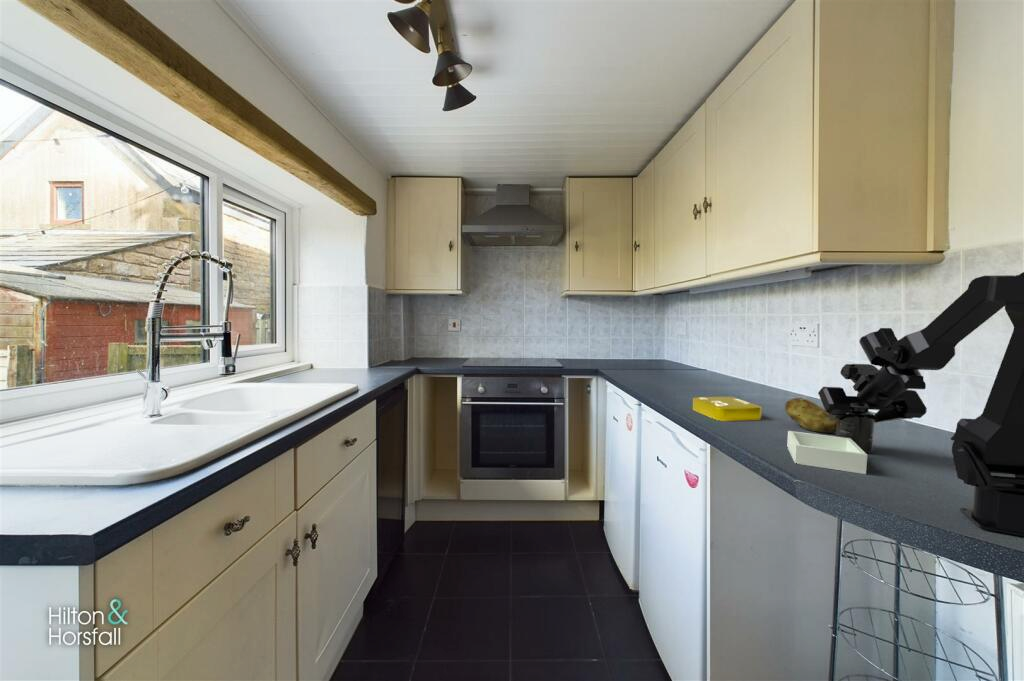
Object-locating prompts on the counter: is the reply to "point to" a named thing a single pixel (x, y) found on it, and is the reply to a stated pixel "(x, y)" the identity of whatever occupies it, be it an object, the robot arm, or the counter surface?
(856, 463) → the sage tray
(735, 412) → the element tile
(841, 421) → the supplement bottle
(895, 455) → the counter surface
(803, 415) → the potato
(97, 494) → the counter surface
